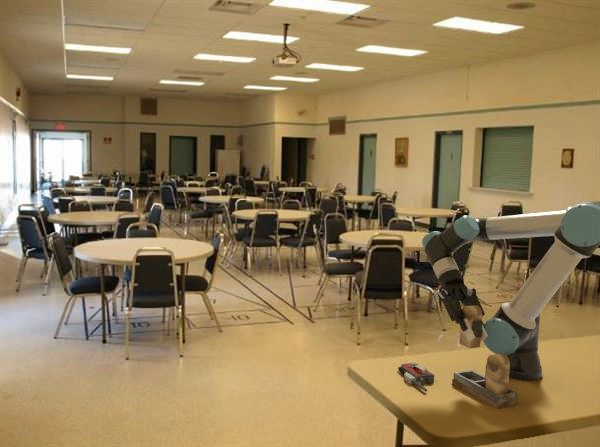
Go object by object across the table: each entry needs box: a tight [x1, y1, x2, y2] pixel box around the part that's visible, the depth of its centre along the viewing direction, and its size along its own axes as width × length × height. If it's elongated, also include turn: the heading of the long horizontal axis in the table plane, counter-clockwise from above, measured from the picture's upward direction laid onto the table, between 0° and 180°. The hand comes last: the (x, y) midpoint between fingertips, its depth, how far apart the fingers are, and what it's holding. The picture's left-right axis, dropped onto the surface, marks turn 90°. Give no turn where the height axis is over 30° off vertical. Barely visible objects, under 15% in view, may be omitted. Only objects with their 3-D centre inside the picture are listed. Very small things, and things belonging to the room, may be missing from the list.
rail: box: [451, 353, 519, 409], centre depth 183 cm, size 8×20×14 cm, turn 23°
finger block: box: [458, 305, 484, 349], centre depth 187 cm, size 4×6×12 cm
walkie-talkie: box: [397, 362, 435, 392], centre depth 193 cm, size 9×4×20 cm
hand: (478, 338), depth 184 cm, fingers closed on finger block, 4 cm apart
